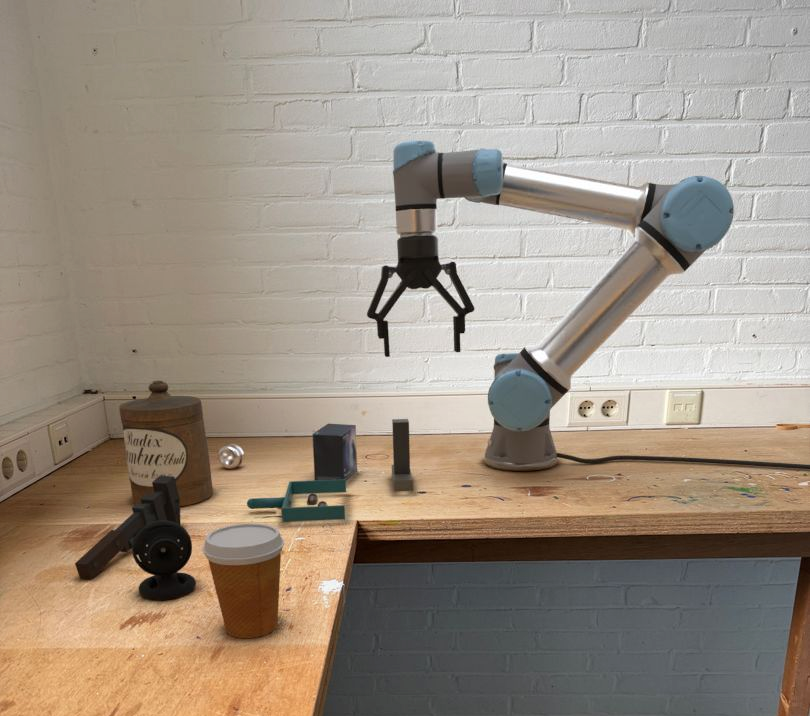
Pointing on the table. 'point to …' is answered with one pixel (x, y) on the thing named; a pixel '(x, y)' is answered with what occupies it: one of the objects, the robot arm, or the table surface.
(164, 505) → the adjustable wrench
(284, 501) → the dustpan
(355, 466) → the small box
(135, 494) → the wooden container
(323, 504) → the glossy brown capsule
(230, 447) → the grooved metal pulley
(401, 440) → the gray l-shaped block
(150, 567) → the webcam
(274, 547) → the disposable coffee cup
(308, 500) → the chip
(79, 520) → the table surface
